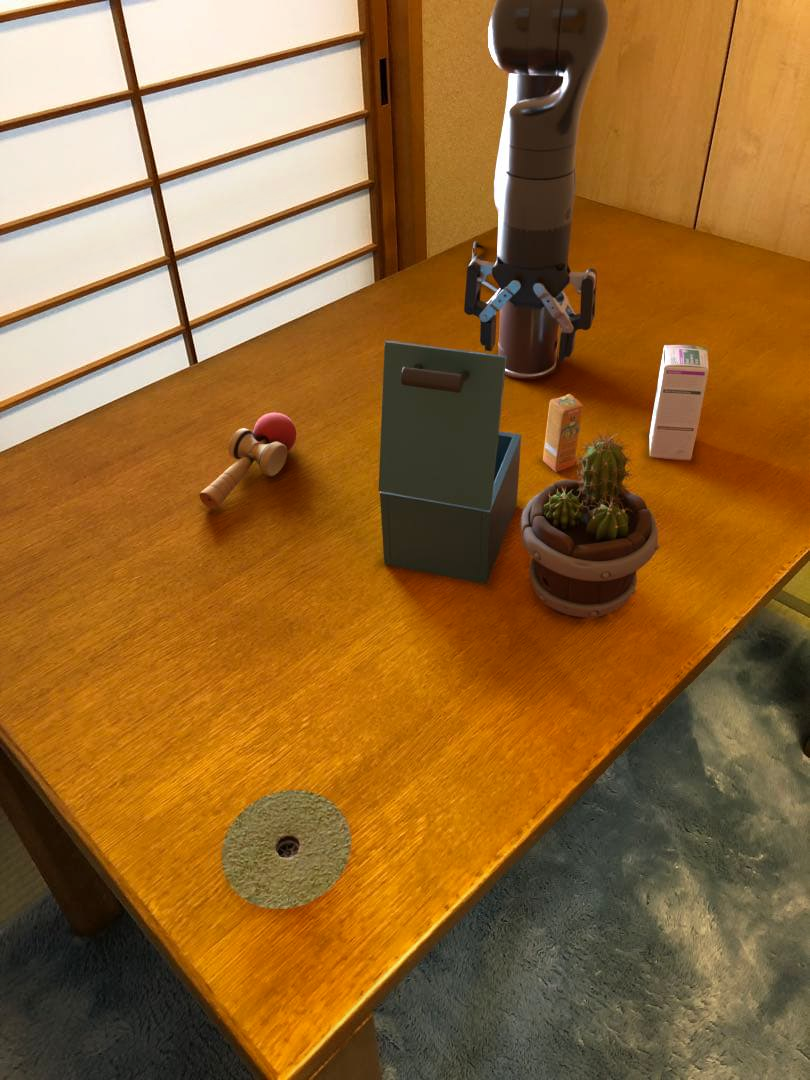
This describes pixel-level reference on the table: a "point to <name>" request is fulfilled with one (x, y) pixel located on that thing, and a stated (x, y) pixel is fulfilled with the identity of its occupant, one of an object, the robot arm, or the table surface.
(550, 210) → the robot arm
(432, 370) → the lid
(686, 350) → the syrup box
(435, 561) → the bin
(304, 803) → the mat
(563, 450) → the supplement box
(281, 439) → the kendama
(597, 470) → the flowerpot
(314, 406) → the table surface
